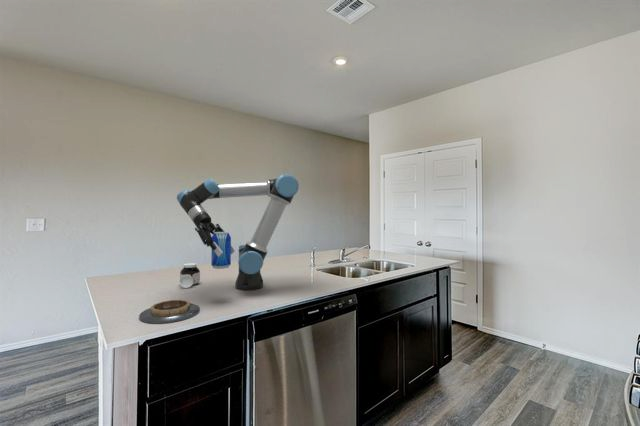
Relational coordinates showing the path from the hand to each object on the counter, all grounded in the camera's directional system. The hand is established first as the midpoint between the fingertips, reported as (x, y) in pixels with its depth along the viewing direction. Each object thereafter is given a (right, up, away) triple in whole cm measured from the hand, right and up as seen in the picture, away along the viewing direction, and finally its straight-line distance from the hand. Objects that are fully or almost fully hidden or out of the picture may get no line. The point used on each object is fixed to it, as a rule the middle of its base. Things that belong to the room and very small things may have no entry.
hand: (227, 253), depth 137 cm
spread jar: (-30, -22, +30) cm, 48 cm away
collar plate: (-19, -23, -14) cm, 33 cm away
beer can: (-3, -7, +1) cm, 8 cm away
